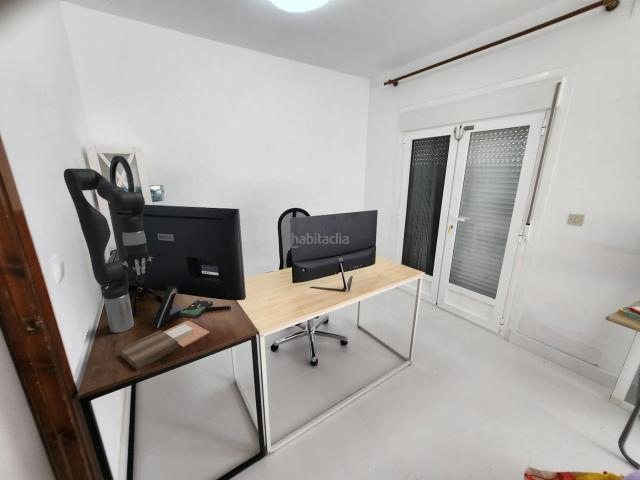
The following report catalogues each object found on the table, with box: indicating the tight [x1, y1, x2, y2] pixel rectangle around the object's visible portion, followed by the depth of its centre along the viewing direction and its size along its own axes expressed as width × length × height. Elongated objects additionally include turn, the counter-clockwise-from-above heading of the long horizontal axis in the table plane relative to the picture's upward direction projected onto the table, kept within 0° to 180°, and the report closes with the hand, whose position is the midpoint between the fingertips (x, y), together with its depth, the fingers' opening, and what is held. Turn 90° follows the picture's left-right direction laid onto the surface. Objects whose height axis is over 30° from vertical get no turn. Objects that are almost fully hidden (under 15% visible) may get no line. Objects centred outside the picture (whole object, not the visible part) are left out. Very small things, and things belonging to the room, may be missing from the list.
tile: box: [165, 324, 193, 341], centre depth 118 cm, size 7×9×2 cm
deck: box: [119, 329, 180, 371], centre depth 107 cm, size 15×16×3 cm
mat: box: [163, 320, 211, 348], centre depth 120 cm, size 18×13×1 cm
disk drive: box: [179, 299, 214, 319], centre depth 141 cm, size 10×3×15 cm
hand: (141, 282), depth 106 cm, fingers closed
